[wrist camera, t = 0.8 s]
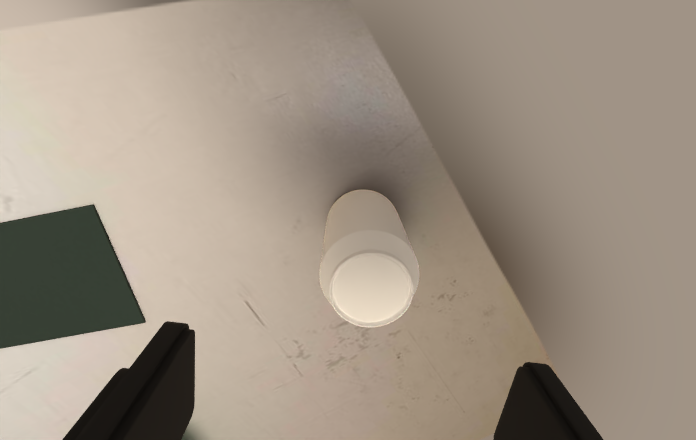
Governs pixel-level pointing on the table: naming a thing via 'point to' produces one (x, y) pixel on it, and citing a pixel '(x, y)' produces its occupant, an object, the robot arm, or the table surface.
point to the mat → (61, 279)
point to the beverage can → (367, 260)
